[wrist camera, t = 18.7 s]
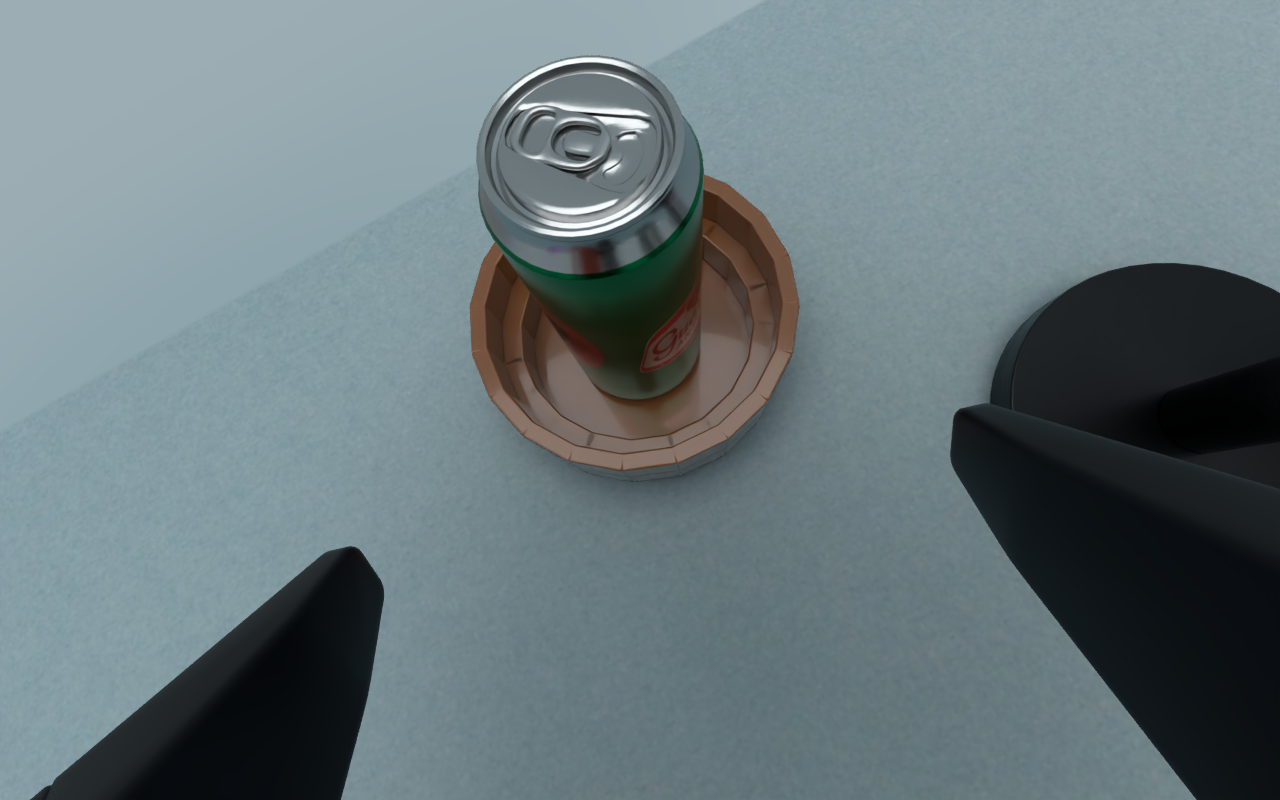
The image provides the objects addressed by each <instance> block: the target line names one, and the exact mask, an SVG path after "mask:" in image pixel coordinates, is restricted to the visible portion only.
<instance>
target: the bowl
mask: <svg viewBox="0 0 1280 800" xmlns="http://www.w3.org/2000/svg"><path fill="white" fill-rule="evenodd" d="M470 306H471V307H470V323H471V345H472V353H473V354H472V356H473V358H474V361H475V363H476V366H477V368H478V371H479V373H480V376H481V378H482V381H483V383H484V386H485V388H486V391H487V393H488V396H489V397H490V398H491V401H492V402H493V403H494V404H495V405H496V406H497V407H498V409H499V410H500V411H501V412H502V413H503V414H504V415H505V417H506V418H507V419H508V420H509V421H510V422H511V423H512V424H513V426H514V427H515V428H516V429H517V430H518V431H519V432H520V434H521V435H523V436H524V437H525V438H527V439H529V440H530V441H532V442H534V443H536V444H537V445H539V446H541V447H542V448H544V449H546V450H548V451H549V452H551V453H553V454H555V455H557V456H558V457H560V458H562V459H564V460H565V461H567V462H569V463H571V464H573V465H574V466H576V467H578V468H580V469H581V470H583V471H585V472H587V473H590V474H594V475H599V476H605V477H610V478H615V479H621V480H626V481H631V482H633V481H636V482H637V481H645V480H652V479H660V478H667V477H675V476H679V475H680V474H681V475H683V474H685V473H687V472H689V471H692V470H694V469H696V468H698V467H700V466H702V465H704V464H706V463H708V462H710V461H712V460H714V459H717V458H719V457H721V456H722V455H723V454H725V453H726V452H727V451H728V450H729V449H730V448H732V447H733V446H734V445H735V444H736V443H737V442H738V441H739V440H740V439H741V438H742V437H743V436H744V435H745V434H746V433H747V432H748V431H749V430H750V429H751V428H752V427H753V426H754V425H755V424H756V423H757V421H758V420H759V418H760V417H761V415H762V413H763V411H764V409H765V407H766V405H767V403H768V401H769V400H770V398H771V396H772V394H773V392H774V390H775V388H776V386H777V384H778V382H779V380H780V378H781V376H782V374H783V372H784V371H785V369H786V367H787V365H788V363H789V361H790V359H791V357H792V353H793V350H794V343H795V335H796V328H797V321H798V313H799V298H798V293H797V288H796V284H795V279H794V274H793V270H792V265H791V260H790V257H789V254H788V253H787V251H786V249H785V248H784V246H783V244H782V243H781V241H780V240H779V238H778V236H777V235H776V233H775V231H774V230H773V228H772V227H771V225H770V223H769V222H768V220H767V219H766V217H765V216H764V214H763V213H762V212H761V211H760V210H758V209H757V208H756V207H755V206H754V205H752V204H751V203H750V202H749V201H747V200H746V199H745V198H744V197H743V196H741V195H740V194H739V193H738V192H737V191H735V190H734V189H733V188H732V187H731V186H729V185H727V184H726V183H724V182H721V181H719V180H716V179H714V178H712V177H709V176H707V175H704V185H703V237H702V289H701V339H700V349H699V353H698V357H697V359H696V361H695V364H694V366H693V367H692V369H691V371H690V372H689V374H688V375H687V376H686V377H685V378H684V379H683V380H682V381H681V382H680V383H679V384H678V385H677V386H675V387H674V388H673V389H671V390H669V391H667V392H666V393H664V394H661V395H659V396H656V397H652V398H648V399H638V400H634V399H624V398H620V397H616V396H614V395H611V394H609V393H607V392H605V391H603V390H602V389H600V388H599V387H598V386H596V385H595V384H594V383H593V382H592V381H591V380H590V379H589V378H588V376H587V375H586V374H585V372H584V371H583V369H582V368H581V366H580V365H579V364H578V362H577V361H576V359H575V358H574V356H573V355H572V353H571V352H570V350H569V349H568V347H567V346H566V345H565V343H564V342H563V340H562V339H561V337H560V336H559V334H558V333H557V331H556V330H555V328H554V327H553V326H552V324H551V323H550V321H549V320H548V318H547V317H546V315H545V314H544V312H543V311H542V309H541V308H540V307H539V305H538V304H537V302H536V301H535V299H534V298H533V296H532V295H531V293H530V292H529V290H528V289H527V288H526V286H525V285H524V283H523V282H522V280H521V279H520V277H519V276H518V274H517V273H516V271H515V270H514V269H513V267H512V266H511V264H510V263H509V261H508V260H507V258H506V257H505V255H504V254H503V252H502V251H501V250H500V248H499V247H498V245H497V244H496V242H495V243H494V244H493V246H492V247H491V249H490V250H489V252H488V253H487V255H486V256H485V258H484V260H483V262H482V264H481V268H480V272H479V275H478V279H477V282H476V286H475V289H474V293H473V296H472V300H471V303H470Z"/></svg>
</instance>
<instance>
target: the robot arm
mask: <svg viewBox="0 0 1280 800" xmlns="http://www.w3.org/2000/svg"><path fill="white" fill-rule="evenodd" d="M950 457H951V463H952V466H953V468H954V471H955V472H956V474H957V476H958V477H959V479H960V481H961V482H962V484H963V485H964V487H965V489H966V490H967V492H968V493H969V495H970V497H971V498H972V500H973V502H974V503H975V505H976V506H977V508H978V510H979V511H980V513H981V514H982V516H983V518H984V519H985V521H986V523H987V524H988V526H989V527H990V529H991V531H992V532H993V534H994V535H995V537H996V539H997V540H998V542H999V544H1000V545H1001V547H1002V548H1003V550H1004V551H1005V553H1006V554H1007V556H1008V557H1009V559H1010V560H1011V562H1012V563H1013V564H1014V566H1015V567H1016V568H1017V570H1018V571H1019V572H1020V574H1021V575H1022V576H1023V578H1024V579H1025V580H1026V581H1027V583H1028V584H1029V585H1030V587H1031V588H1032V589H1033V590H1034V592H1035V593H1036V594H1037V596H1038V597H1039V598H1040V599H1041V601H1042V602H1043V603H1044V605H1045V606H1046V607H1047V608H1048V610H1049V611H1050V612H1051V614H1052V615H1053V616H1054V617H1055V619H1056V620H1057V621H1058V623H1059V624H1060V625H1061V626H1062V628H1063V629H1064V630H1065V632H1066V633H1067V634H1068V635H1069V637H1070V638H1071V639H1072V640H1073V642H1074V643H1075V644H1076V646H1077V647H1078V648H1079V649H1080V651H1081V652H1082V653H1083V655H1084V656H1085V657H1086V658H1087V660H1088V661H1089V662H1090V664H1091V665H1092V666H1093V667H1094V669H1095V670H1096V671H1097V673H1098V674H1099V675H1100V676H1101V678H1102V679H1103V680H1104V682H1105V683H1106V684H1107V685H1108V687H1109V688H1110V689H1111V691H1112V692H1113V693H1114V694H1115V696H1116V697H1117V698H1118V700H1119V701H1120V702H1121V703H1122V705H1123V706H1124V707H1125V709H1126V710H1127V711H1128V712H1129V714H1130V715H1131V716H1132V718H1133V719H1134V720H1135V721H1136V723H1137V724H1138V725H1139V727H1140V728H1141V729H1142V730H1143V732H1144V733H1145V734H1146V735H1147V737H1148V738H1149V739H1150V741H1151V742H1152V743H1153V744H1154V746H1155V747H1156V748H1157V750H1158V751H1159V752H1160V753H1161V755H1162V756H1163V757H1164V759H1165V760H1166V761H1167V762H1168V764H1169V765H1170V766H1171V768H1172V769H1173V770H1174V771H1175V773H1176V774H1177V775H1178V777H1179V778H1180V779H1181V780H1182V782H1183V783H1184V784H1185V786H1186V787H1187V788H1188V789H1189V791H1190V792H1191V793H1192V795H1193V796H1194V797H1195V798H1196V800H1280V489H1278V488H1274V487H1271V486H1268V485H1264V484H1261V483H1257V482H1254V481H1251V480H1247V479H1244V478H1240V477H1237V476H1234V475H1230V474H1227V473H1223V472H1220V471H1217V470H1213V469H1210V468H1206V467H1203V466H1200V465H1196V464H1193V463H1189V462H1186V461H1183V460H1179V459H1176V458H1173V457H1169V456H1166V455H1162V454H1159V453H1156V452H1152V451H1149V450H1145V449H1142V448H1139V447H1135V446H1132V445H1128V444H1125V443H1122V442H1118V441H1115V440H1111V439H1108V438H1105V437H1101V436H1098V435H1094V434H1091V433H1088V432H1084V431H1081V430H1077V429H1074V428H1071V427H1067V426H1064V425H1061V424H1057V423H1054V422H1050V421H1047V420H1044V419H1040V418H1037V417H1033V416H1030V415H1027V414H1023V413H1020V412H1016V411H1013V410H1010V409H1006V408H1003V407H1000V406H996V405H993V404H988V403H984V404H979V405H974V406H970V407H966V408H961V409H959V410H958V411H957V412H956V413H955V415H954V419H953V429H952V440H951V452H950ZM383 601H384V588H383V585H382V582H381V580H380V578H379V577H378V575H377V574H376V572H375V571H374V570H373V568H372V567H371V565H370V564H369V562H368V561H367V559H366V558H365V556H364V555H363V553H362V552H361V551H360V550H359V549H358V548H356V547H352V546H349V547H344V548H340V549H336V550H331V551H328V552H326V553H324V554H323V555H321V556H320V557H319V558H318V559H317V560H315V561H314V562H313V563H312V564H311V565H309V566H308V567H307V568H306V569H305V570H304V571H302V572H301V573H300V574H299V575H298V576H296V577H295V578H294V579H293V580H292V581H290V582H289V583H288V584H287V585H286V586H284V587H283V588H282V589H281V590H280V591H279V592H277V593H276V594H275V595H274V596H273V597H271V598H270V599H269V600H268V601H267V602H265V603H264V604H263V605H262V606H261V607H259V608H258V609H257V610H256V611H255V612H253V613H252V614H251V615H250V616H249V617H248V618H246V619H245V620H244V621H243V622H242V623H240V624H239V625H238V626H237V627H236V628H234V629H233V630H232V631H231V632H230V633H228V634H227V635H226V636H225V637H224V638H223V639H221V640H220V641H219V642H218V643H217V644H215V645H214V646H213V647H212V648H211V649H209V650H208V651H207V652H206V653H205V654H203V655H202V656H201V657H200V658H199V659H198V660H196V661H195V662H194V663H193V664H192V665H190V666H189V667H188V668H187V669H186V670H184V671H183V672H182V673H181V674H180V675H178V676H177V677H176V678H175V679H174V680H172V681H171V682H170V683H169V684H168V685H167V686H165V687H164V688H163V689H162V690H161V691H159V692H158V693H157V694H156V695H155V696H153V697H152V698H151V699H150V700H149V701H147V702H146V703H145V704H144V705H143V706H142V707H140V708H139V709H138V710H137V711H136V712H134V713H133V714H132V715H131V716H130V717H128V718H127V719H126V720H125V721H124V722H122V723H121V724H120V725H119V726H118V727H116V728H115V729H114V730H113V731H112V732H111V733H109V734H108V735H107V736H106V737H105V738H103V739H102V740H101V741H100V742H99V743H97V744H96V745H95V746H94V747H93V748H91V749H90V750H89V751H88V752H87V753H86V754H84V755H83V756H82V757H81V758H80V759H78V760H77V761H76V762H75V763H74V764H72V765H71V766H70V767H69V768H68V769H66V770H65V771H64V772H63V773H62V774H61V775H59V776H58V777H57V778H56V779H55V780H54V782H53V784H52V785H50V786H47V787H45V788H44V789H42V790H41V791H40V792H39V793H38V794H36V795H35V796H34V797H33V798H32V799H30V800H341V797H342V793H343V789H344V786H345V782H346V778H347V774H348V770H349V767H350V763H351V759H352V755H353V752H354V748H355V744H356V740H357V736H358V733H359V729H360V725H361V721H362V718H363V714H364V710H365V705H366V701H367V697H368V692H369V687H370V682H371V676H372V670H373V663H374V657H375V651H376V645H377V639H378V632H379V626H380V620H381V614H382V607H383Z"/></svg>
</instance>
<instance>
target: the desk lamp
mask: <svg viewBox="0 0 1280 800" xmlns="http://www.w3.org/2000/svg"><path fill="white" fill-rule="evenodd" d="M991 404H993V405H996V406H1000V407H1003V408H1006V409H1010V410H1013V411H1016V412H1020V413H1023V414H1027V415H1030V416H1033V417H1037V418H1040V419H1044V420H1047V421H1050V422H1054V423H1057V424H1061V425H1064V426H1067V427H1071V428H1074V429H1077V430H1081V431H1084V432H1088V433H1091V434H1094V435H1098V436H1101V437H1105V438H1108V439H1111V440H1115V441H1118V442H1122V443H1125V444H1128V445H1132V446H1135V447H1139V448H1142V449H1145V450H1149V451H1152V452H1156V453H1159V454H1162V455H1166V456H1169V457H1173V458H1176V459H1179V460H1183V461H1186V462H1189V463H1193V464H1196V465H1200V466H1203V467H1206V468H1210V469H1213V470H1217V471H1220V472H1223V473H1227V474H1230V475H1234V476H1237V477H1240V478H1244V479H1247V480H1251V481H1254V482H1257V483H1261V484H1264V485H1268V486H1271V487H1274V488H1278V489H1280V293H1279V292H1277V291H1275V290H1274V289H1272V288H1270V287H1267V286H1265V285H1263V284H1260V283H1258V282H1256V281H1253V280H1251V279H1248V278H1246V277H1243V276H1239V275H1236V274H1233V273H1230V272H1227V271H1223V270H1218V269H1214V268H1209V267H1204V266H1198V265H1189V264H1179V263H1152V264H1143V265H1135V266H1128V267H1124V268H1119V269H1115V270H1111V271H1107V272H1105V273H1102V274H1099V275H1097V276H1094V277H1091V278H1089V279H1087V280H1085V281H1083V282H1081V283H1079V284H1077V285H1076V286H1074V287H1072V288H1070V289H1069V290H1067V291H1066V292H1064V293H1063V294H1061V295H1060V296H1058V297H1057V298H1055V299H1054V300H1052V301H1051V302H1049V303H1048V304H1046V305H1045V306H1043V307H1042V308H1041V309H1039V310H1038V311H1037V312H1035V313H1034V314H1033V315H1032V316H1031V317H1030V318H1029V319H1028V320H1027V321H1026V322H1025V323H1023V324H1022V325H1021V326H1020V328H1019V329H1018V330H1017V332H1016V333H1015V334H1014V336H1013V337H1012V338H1011V340H1010V341H1009V343H1008V344H1007V346H1006V348H1005V350H1004V352H1003V354H1002V356H1001V358H1000V360H999V363H998V366H997V369H996V372H995V375H994V380H993V385H992V391H991Z"/></svg>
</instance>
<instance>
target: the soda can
mask: <svg viewBox="0 0 1280 800" xmlns="http://www.w3.org/2000/svg"><path fill="white" fill-rule="evenodd" d="M476 162H477V168H478V174H479V192H478V197H479V203H480V210H481V213H482V216H483V219H484V222H485V225H486V227H487V229H488V231H489V232H490V234H491V236H492V237H493V239H494V241H495V242H496V244H497V245H498V247H499V248H500V250H501V251H502V252H503V254H504V255H505V257H506V258H507V260H508V261H509V263H510V264H511V266H512V267H513V269H514V270H515V271H516V273H517V274H518V276H519V277H520V279H521V280H522V282H523V283H524V285H525V286H526V288H527V289H528V290H529V292H530V293H531V295H532V296H533V298H534V299H535V301H536V302H537V304H538V305H539V307H540V308H541V309H542V311H543V312H544V314H545V315H546V317H547V318H548V320H549V321H550V323H551V324H552V326H553V327H554V328H555V330H556V331H557V333H558V334H559V336H560V337H561V339H562V340H563V342H564V343H565V345H566V346H567V347H568V349H569V350H570V352H571V353H572V355H573V356H574V358H575V359H576V361H577V362H578V364H579V365H580V366H581V368H582V369H583V371H584V372H585V374H586V375H587V376H588V378H589V379H590V380H591V381H592V382H593V383H594V384H595V385H596V386H598V387H599V388H600V389H602V390H603V391H605V392H607V393H609V394H611V395H614V396H616V397H620V398H624V399H634V400H638V399H648V398H652V397H656V396H659V395H661V394H664V393H666V392H667V391H669V390H671V389H673V388H674V387H675V386H677V385H678V384H679V383H680V382H681V381H682V380H683V379H684V378H685V377H686V376H687V375H688V374H689V372H690V371H691V369H692V367H693V366H694V364H695V361H696V359H697V357H698V353H699V349H700V339H701V289H702V237H703V185H704V168H703V158H702V153H701V149H700V146H699V142H698V139H697V137H696V135H695V134H694V132H693V130H692V128H691V126H690V124H689V123H688V122H687V121H686V119H685V118H684V117H683V115H682V114H681V111H680V109H679V107H678V105H677V103H676V101H675V99H674V97H673V95H672V94H671V93H670V91H669V90H668V89H667V87H666V86H665V85H664V84H663V83H662V82H661V81H660V80H659V79H658V78H657V77H655V76H654V75H653V74H651V73H650V72H648V71H647V70H645V69H644V68H642V67H640V66H638V65H635V64H633V63H631V62H628V61H624V60H621V59H618V58H614V57H606V56H578V57H570V58H565V59H561V60H558V61H554V62H551V63H549V64H546V65H544V66H541V67H539V68H537V69H535V70H533V71H532V72H530V73H528V74H526V75H524V76H523V77H522V78H520V79H519V80H518V81H516V82H515V83H514V84H512V85H511V86H510V87H509V88H508V89H507V90H506V91H505V92H504V93H503V94H502V95H501V96H500V97H499V99H498V100H497V101H496V103H495V104H494V105H493V106H492V108H491V110H490V111H489V113H488V115H487V117H486V118H485V120H484V123H483V126H482V128H481V131H480V134H479V139H478V144H477V160H476Z"/></svg>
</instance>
